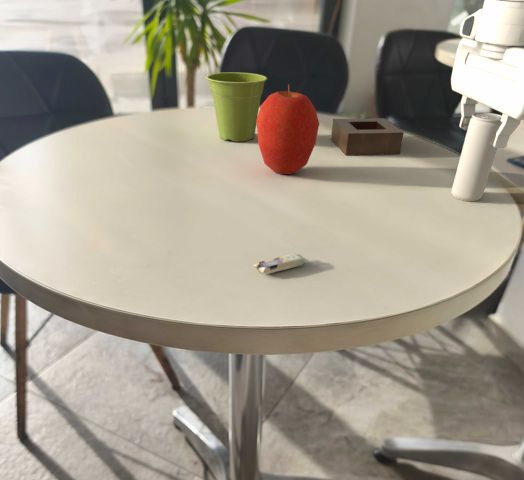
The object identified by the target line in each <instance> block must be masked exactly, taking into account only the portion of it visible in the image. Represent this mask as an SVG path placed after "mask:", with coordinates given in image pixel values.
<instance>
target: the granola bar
mask: <svg viewBox="0 0 524 480" xmlns="http://www.w3.org/2000/svg"><path fill="white" fill-rule="evenodd" d="M306 263H310V261H309V259H307V258H305V257H304V256H302V255H301V254H299V253H289V254H287V255H282V256H278V257H274V258H269V259H266V260H261V261H259V262H258V263H255V264H253V265H251V267H252V268H254V269H255V270H256V271H257V272H258V273H259V274H263V275H269V274H274V273H277V272H281V271H285V270H290V269H292V268H293V269H294V268H296V267H300V266H302V265H304V264H306Z"/></svg>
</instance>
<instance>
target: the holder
mask: <svg viewBox="0 0 524 480" xmlns="http://www.w3.org/2000/svg"><path fill="white" fill-rule="evenodd" d="M404 133H405V132H404V131H402V129H400V128H399V127H397V126H395V125H394V124H393V123H391V122H390V121H389V120H387V119H386V118H385V117H373V118H371V117H369V118H365V117H364V118H333V119H332V125H331V135H330V140H331V141H332V142H333V143H334V144H335V146H336V147H337V148H338V149H339V150H340V151H341V152H342V153H343V154H344V155H345V156H374V155H376V156H377V155H378V156H379V155H380V156H381V155H400V154H401V150H402V144H403V138H404Z"/></svg>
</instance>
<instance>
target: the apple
mask: <svg viewBox="0 0 524 480" xmlns="http://www.w3.org/2000/svg"><path fill="white" fill-rule="evenodd" d="M287 88H288V89H287V90H280V91H276V92H273V93H271V94H269V95H268V96H267V98H266V99H265V100H264V101H263V102H262V103H261V105H260V107H259V111H258V117H257V120H256V121H257V123H256V135H257V145H258V148H259V151H260V155H261V157H262V161H263V163H264V165H266V167H268V168H269V169H270V170H271V171H272V172H273V173H275V174H280V175H292V174H295V173H297V172H299V171H300V170H301V169H302V168H304V167H305V166H306V165H307V164H308V163H309V159H310V157H311V155H312V153H313V150H314V148H315V146H316V143H317V139H318V133H319V127H320V120H319V116H318V113H317V109H316V108H315V106H314V105H313V103H312V101H311V99H309V97H308V96H307V95H305V94H303V93H299V92H294V91H290V90H291V89H290V84H288V85H287Z"/></svg>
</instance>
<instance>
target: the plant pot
mask: <svg viewBox="0 0 524 480" xmlns="http://www.w3.org/2000/svg"><path fill="white" fill-rule="evenodd" d="M205 79H206V80H207V81H208V83H209V88H210V93H211V95H212V99H213V105H214V112H215V117H216V123H217V128H218V134H219V138H220V139H222V140H224V141H227V140H228V141H229V140H230V141H232V142H236V143H240V142H248V141H251V140H252V139H254V138H255V134H256V130H257V121H256V120H257V117H258V114H259V111H260V104H261V98H262V95H263V91H264V86H265V82H266V81H267V80H268V77H267V76H266V75H263V74H258V73H252V72H234V71H232V72H231V71H229V72H216V73H210V74H207V75H206V76H205Z"/></svg>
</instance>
